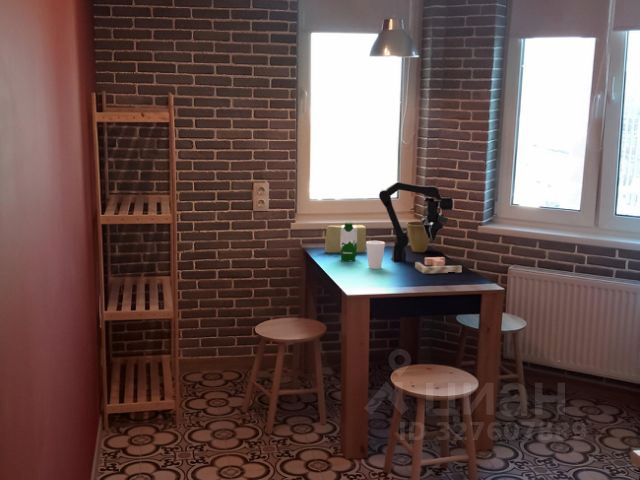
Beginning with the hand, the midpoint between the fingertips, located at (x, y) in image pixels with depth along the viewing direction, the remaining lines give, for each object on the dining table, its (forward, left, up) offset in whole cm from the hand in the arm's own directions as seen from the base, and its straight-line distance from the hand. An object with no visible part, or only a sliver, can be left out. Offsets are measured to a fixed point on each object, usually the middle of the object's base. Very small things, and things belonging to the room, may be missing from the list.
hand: (431, 239), depth 408 cm
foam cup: (-33, -10, -12) cm, 37 cm away
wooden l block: (-3, -20, -12) cm, 24 cm away
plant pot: (+3, +28, -12) cm, 31 cm away
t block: (0, -11, -12) cm, 16 cm away
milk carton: (-42, +11, -12) cm, 45 cm away
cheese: (-39, +32, -12) cm, 52 cm away
